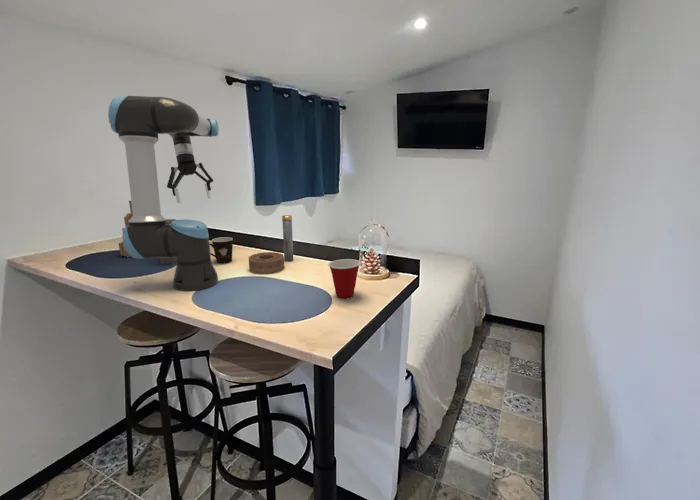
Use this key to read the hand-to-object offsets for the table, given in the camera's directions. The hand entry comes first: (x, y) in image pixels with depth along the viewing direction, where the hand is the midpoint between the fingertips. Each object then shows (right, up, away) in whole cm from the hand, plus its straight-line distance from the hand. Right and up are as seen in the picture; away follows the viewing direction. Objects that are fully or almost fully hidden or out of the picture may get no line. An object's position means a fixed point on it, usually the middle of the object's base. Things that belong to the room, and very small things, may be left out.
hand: (193, 200), depth 170 cm
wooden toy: (-26, -25, +2) cm, 36 cm away
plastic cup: (+71, -39, -46) cm, 93 cm away
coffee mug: (+16, -28, -9) cm, 34 cm away
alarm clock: (-5, -28, -7) cm, 29 cm away
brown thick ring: (+38, -31, -18) cm, 53 cm away
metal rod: (+46, -28, -8) cm, 54 cm away
